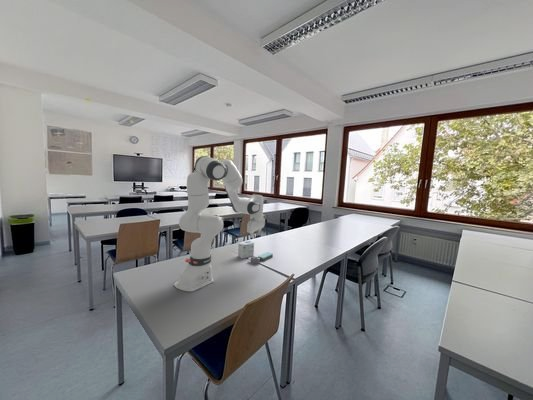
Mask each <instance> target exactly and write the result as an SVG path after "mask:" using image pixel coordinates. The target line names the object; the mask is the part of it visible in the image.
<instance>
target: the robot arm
mask: <svg viewBox="0 0 533 400" xmlns="http://www.w3.org/2000/svg"><path fill="white" fill-rule="evenodd" d="M192 170H193V171H192V172H191V173H190V174H188V175H187V178H186V193H187V201H188V202H187V204H188V206H187V210H186V211H185V212H184V214H182V215H181V217H180V218H179V221H178V226H179V227H180V229H181V230H182V231H184V232H188V233H195V234H197V233H198V234H200V237H198V238H195V239H194V240H193V241H192V243H191V245H190V256H189V258H185V260H184V261H185V263H188V264H187V265H186V266H185V267H184V269H183V270H182V271H181V272H180V274H179V277H178V280H176V282H174V283H173V286H174V287H175V288H176V289H177V290H181V291H183V292H195V291H197V290H199V289H201V288H203V287H206V286H208V285H210V284H212V283H214V281H215V280H214V276H213V267H212V263H211V262H212V253H211V251H212V243H213V240H214V238H215V237H216V236H217V235H218V234H220V233H221V232H222V230H223V228H224V220H223V218H222V217H221V216H218V215H215V214H205V213H204V214H203V213H202V211H203V210H205V209H207V208H208V206H209V205H210V197H209V196H210V195H209V186H208V185H209V181H210V180H211V181H220V180H222V182H223V183H224V189H225V192H226V194H227V195H226V196H228V199H229V201H230V204H231V207H232V211H233V212H235V213H241V214H247V215H250V216H249V217H250V218H249V221H248V222H247V227H246V232H247V233H249V235H250V238H251V239H254V238H255V235H254V232H257V233H256V234H257V236H260V235H261V232H262V229H263V228H265V224H266V218H267V216H266V215H265V214H264V211H263V209H264V197H263V195H261V194H256V193H253V194H252V195H251V197H249V199H245V198H242V197H239V195H238V192H237V190H239V189H240V188H241V186H242V185H243V182H244V181H243V176H242V174H241V173H240V171H239V169H238V168H237V165H235V163H234V162H233V161H232V160H231V159H227V158H226V159H222V160H221V161H220V160H218V159H215V158H213V157H210V156H205V155H204V156H199V157H198V158H197V159H196V160H195V162H194V167H193V169H192Z"/></svg>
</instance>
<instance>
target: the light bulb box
mask: <svg viewBox="0 0 533 400" xmlns="http://www.w3.org/2000/svg"><path fill="white" fill-rule="evenodd" d="M237 248H238V249H237V253H238V254H237V256H238V257H239V258H241V259H246V258H247V259H248V258H251V257H253V256H254V254H255V242H253V241H251V240H247V241H243V242H241V241H240V242H238V247H237Z"/></svg>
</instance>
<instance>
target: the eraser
mask: <svg viewBox="0 0 533 400" xmlns="http://www.w3.org/2000/svg"><path fill="white" fill-rule="evenodd" d="M273 254H274V253H271V252H269V251H267V252H264V253H262V254H260V255H258V256H257V257H259V258H260V261H261V262H265V261H267V260H269V259H272V258H274V257H273Z"/></svg>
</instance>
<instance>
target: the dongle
mask: <svg viewBox="0 0 533 400" xmlns="http://www.w3.org/2000/svg"><path fill="white" fill-rule="evenodd" d="M247 259H248V261H249V262H250V264H253V265H260V258H259V257H258V256H251V257H247Z"/></svg>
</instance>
